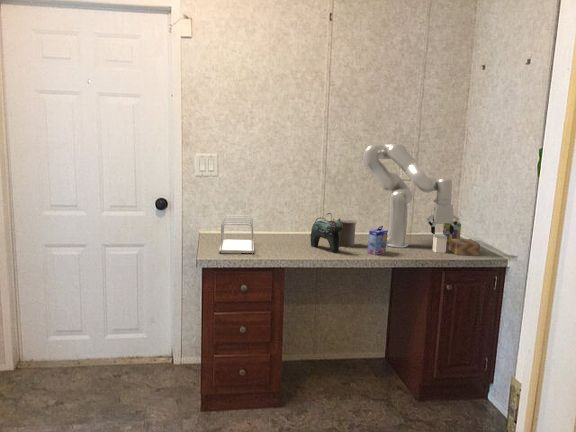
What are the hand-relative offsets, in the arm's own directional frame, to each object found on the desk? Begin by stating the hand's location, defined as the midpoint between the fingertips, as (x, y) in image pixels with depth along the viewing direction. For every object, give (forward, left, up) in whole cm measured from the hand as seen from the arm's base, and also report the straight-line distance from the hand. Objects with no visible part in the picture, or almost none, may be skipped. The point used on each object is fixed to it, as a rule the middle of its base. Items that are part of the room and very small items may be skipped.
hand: (442, 233), depth 269 cm
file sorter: (-109, -1, -10) cm, 109 cm away
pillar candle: (-50, +10, -10) cm, 52 cm away
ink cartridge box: (-36, -6, -10) cm, 38 cm away
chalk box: (+15, +26, -10) cm, 32 cm away
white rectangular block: (-1, 0, -10) cm, 10 cm away
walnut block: (+12, -1, -10) cm, 16 cm away
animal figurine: (-63, -1, -10) cm, 64 cm away
